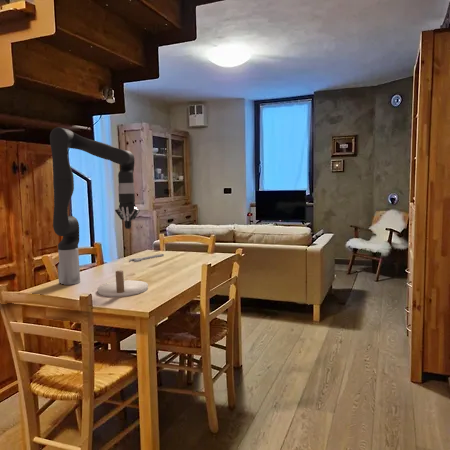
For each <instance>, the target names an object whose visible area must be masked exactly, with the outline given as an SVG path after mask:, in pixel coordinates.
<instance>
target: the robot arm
mask: <svg viewBox="0 0 450 450" xmlns="http://www.w3.org/2000/svg"><path fill="white" fill-rule="evenodd" d="M49 143H50V144H49V145H50V149H51V151H50V152H51V157H52V174H53V175H52V185H53V218H52V228H53V231H54V233H55V234H56V235H57V236H59V237H62V239H61V240H60V242H58V244H57V252H58V262H59V263H58V264H57V272H58V274H57V275H58V284H60V283H61V284H60V285H62V284H64V286H70V285H76V284H79V283H81V273H80V272H81V270H80V259H79V257H80V255H79V243H80V224H79V221H78V219H77V218H76V217H75V216H72V215H69V204H70V201H71V200H72V196H73V194H74V191H75V186H74V185H75V180H74V179H75V178H74V172H73V171H72V170H73V169H72V167H71V164H70V162H69V158H68V149H74V150H79V151H83V152H86V153H87V154H90V155H92V156H95V157H97V158H101V159H104V160H105V161H106V160H107V161H110V162H112V163H114V164H118V165H120V171H118V175H117V178H118V181H117V182H118V187H117V188H118V189H117V192H118V204H119V205H118V208H116V209H114V211H115V213H116V214H117V215H118V217H119V218H120V220H123V221H124V228H125V230H130V229H131V228H132V221H133V220H135V219H136V218H137V216H138V215H139V213H140V211H141V210H140V209H139V208H137V206H136V204H135V203H136V195H135V194H136V193H135V192H136V191H135V181H134V170H135V156H134V154H133V153H132V152H131V150H126V149H122V148H118V147H114V146H112V145H111V144H108V143H104V142H101V141H98V140H93V139H89V138H87V137H83V136H81V135H79V134H77V133H75V132H73V131H72V130H70V129H69V128H65V127H60V126H58V127H54V128H52V130H51V132H50V134H49Z"/></svg>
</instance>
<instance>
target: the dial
mask: <svg viewBox="0 0 450 450" xmlns="http://www.w3.org/2000/svg"><path fill="white" fill-rule="evenodd" d="M124 278H125V277H124V270H115V281H111V282H108V283H104V284H102V285H99V286H98V287H97V294H98V295H100V296H104V297H110V298H111V297H112V298H120V297H122V298H123V297H129V296H137V295H140V294H142V293H146V292H147V291H148V289H149V284H148V282H146V281H141V280H130V279H128V280H125V279H124Z"/></svg>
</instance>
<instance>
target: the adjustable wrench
mask: <svg viewBox="0 0 450 450" xmlns="http://www.w3.org/2000/svg"><path fill="white" fill-rule="evenodd" d="M164 255H165V254H163V253H161V254H160V253H159V254H155V255H150V256H149V255H148V256H144V257H135V258H134V257H133V258H129V262H134V263H137V262H142V261H144V260H150V258H151V259H155V257H156V258H161V257H164Z"/></svg>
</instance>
